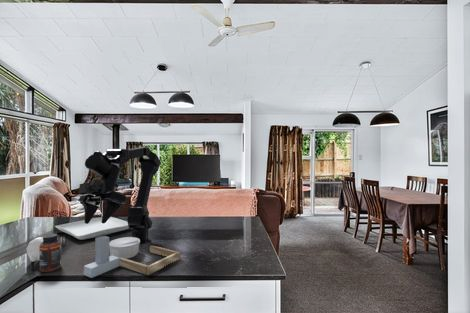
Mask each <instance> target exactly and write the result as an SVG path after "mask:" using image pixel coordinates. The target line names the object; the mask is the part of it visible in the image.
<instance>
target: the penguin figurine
mask: <svg viewBox="0 0 470 313" xmlns="http://www.w3.org/2000/svg"><path fill="white" fill-rule="evenodd" d="M42 242H43V236H41V237H36V238H34V239H32V240H31V241H29V243H28V245H27V247H26V248H25V250H26V254H27V255H28V258H29V260H30V261H31V262H35V261H36V260H37V261H39V262H40V252H39V250H40V248H39V247H40V244H41V243H42Z"/></svg>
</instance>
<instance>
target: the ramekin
mask: <svg viewBox="0 0 470 313" xmlns="http://www.w3.org/2000/svg"><path fill="white" fill-rule="evenodd" d="M140 245H141V244H140V239H138V238H135V237H132V236H126V237H120V238H115V239H113V240H111V241H109V255H110V256H116V257H119V258H125V259H128V260H129V259H131V258H134V257H135V256H137V255H138V253H139V250H140V249H139V248H140Z"/></svg>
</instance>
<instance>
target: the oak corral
mask: <svg viewBox="0 0 470 313" xmlns="http://www.w3.org/2000/svg"><path fill="white" fill-rule="evenodd" d="M149 253H150V254H154V255H158V256H161V255H162V256H163V257H164V258H161V259H159V260H157V261H155V262H153V263H151V264H149V265H148V264H144V263H140V262H137V261H134V260H131V259H129V258H128V259H125V258H119V266H118V267H121V268H125V269H128V270H131V271H134V272H138V273H140V274H144V275H146V276H149V275H151V274H154V273H155V272H157V271H160V270H161V269H164V268H165V267H167V266H169V265H170V263H171V264H172V262H173V263H175V262H177V261H179V260H180V259H181V256H180V255H181V253H180V251H177V250H172V249H169V248H164V247H160V246H156V245H150V246H149ZM165 256H166V257H165ZM176 260H177V261H176ZM174 261H175V262H174ZM168 264H169V265H168ZM166 265H167V266H166ZM164 266H165V267H164Z"/></svg>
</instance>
